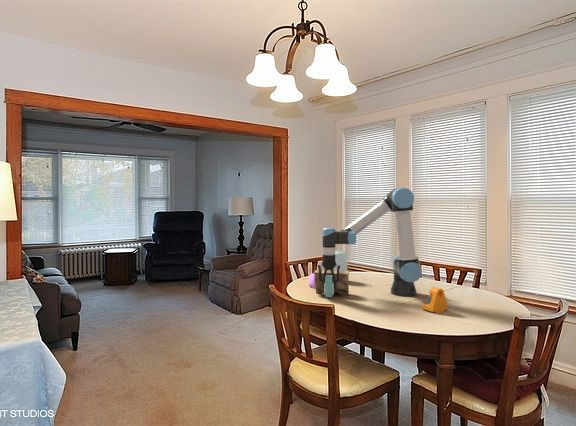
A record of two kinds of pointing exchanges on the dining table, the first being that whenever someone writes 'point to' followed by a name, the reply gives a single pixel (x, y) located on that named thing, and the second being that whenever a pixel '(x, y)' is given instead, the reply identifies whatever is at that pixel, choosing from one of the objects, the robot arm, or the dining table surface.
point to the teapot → (312, 281)
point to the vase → (341, 260)
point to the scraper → (328, 286)
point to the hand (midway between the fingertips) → (329, 293)
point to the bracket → (436, 301)
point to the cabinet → (341, 286)
